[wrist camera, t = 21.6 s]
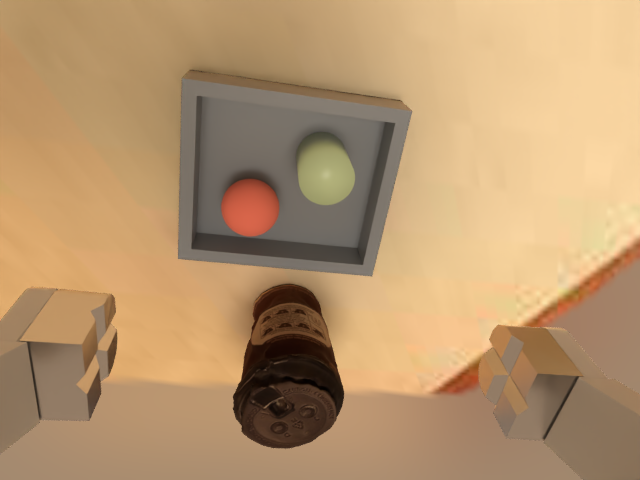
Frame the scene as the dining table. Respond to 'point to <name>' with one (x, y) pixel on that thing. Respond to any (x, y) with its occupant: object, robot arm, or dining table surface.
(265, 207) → the red ball
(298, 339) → the coffee cup
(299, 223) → the bin
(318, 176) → the pale green capsule
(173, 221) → the dining table surface
